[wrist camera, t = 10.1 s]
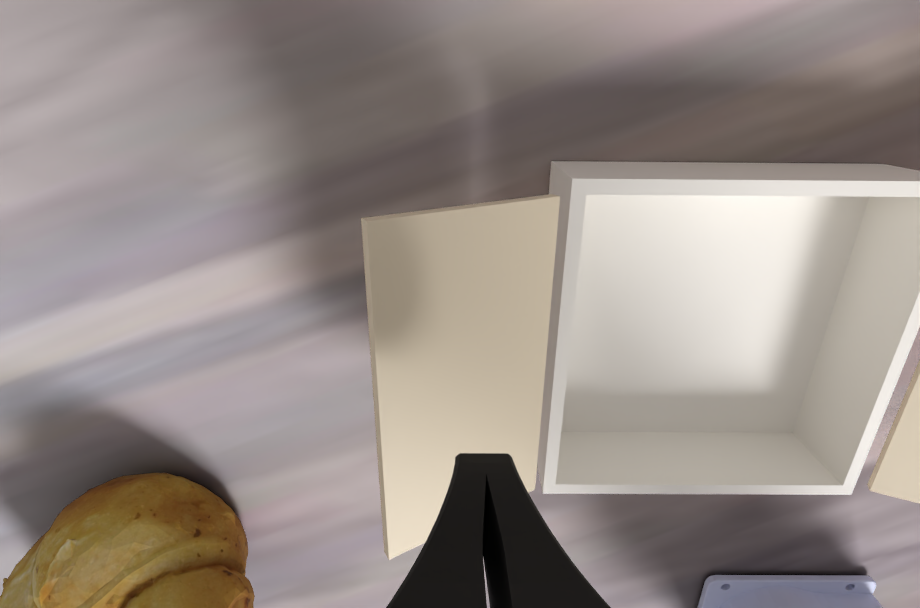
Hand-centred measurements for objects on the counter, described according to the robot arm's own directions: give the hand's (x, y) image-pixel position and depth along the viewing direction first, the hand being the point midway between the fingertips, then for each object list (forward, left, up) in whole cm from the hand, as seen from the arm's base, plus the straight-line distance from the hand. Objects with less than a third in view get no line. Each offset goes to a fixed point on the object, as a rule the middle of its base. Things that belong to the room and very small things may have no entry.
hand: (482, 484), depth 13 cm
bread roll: (+17, +13, -11) cm, 24 cm away
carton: (-9, 0, -10) cm, 14 cm away
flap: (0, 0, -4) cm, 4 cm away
